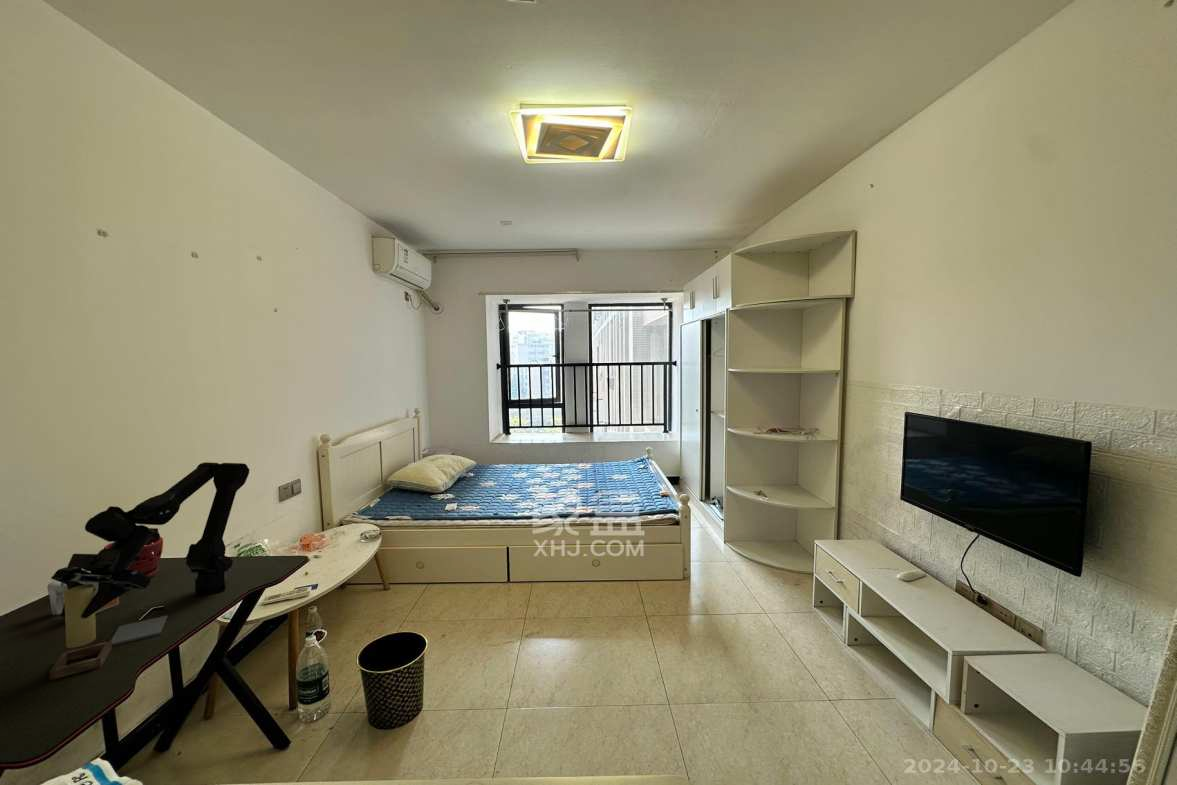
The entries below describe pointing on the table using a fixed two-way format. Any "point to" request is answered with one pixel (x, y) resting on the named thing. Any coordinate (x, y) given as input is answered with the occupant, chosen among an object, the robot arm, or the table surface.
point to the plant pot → (147, 557)
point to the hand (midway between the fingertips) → (72, 617)
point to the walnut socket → (63, 670)
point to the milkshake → (57, 596)
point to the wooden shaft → (79, 616)
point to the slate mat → (138, 630)
